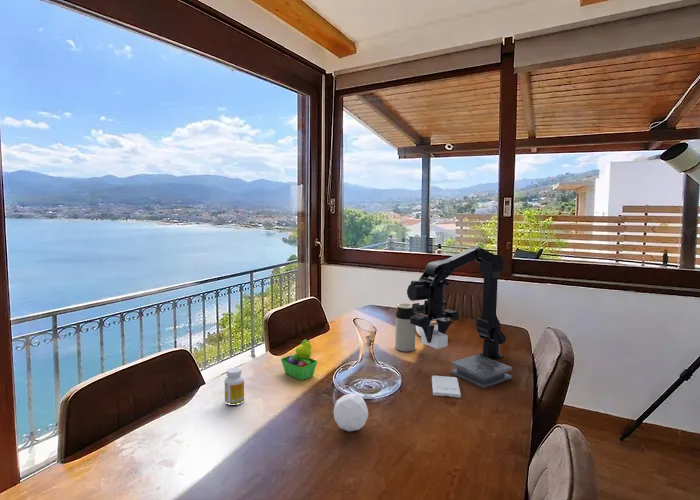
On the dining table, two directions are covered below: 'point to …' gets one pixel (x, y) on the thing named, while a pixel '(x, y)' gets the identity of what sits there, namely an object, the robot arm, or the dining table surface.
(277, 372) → the dining table surface
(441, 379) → the external hard drive
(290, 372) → the fruit basket
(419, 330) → the lidded jar
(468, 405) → the dining table surface
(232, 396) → the supplement bottle
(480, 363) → the stand
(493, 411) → the dining table surface
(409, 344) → the travel mug
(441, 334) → the block
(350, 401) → the white low-poly ball
